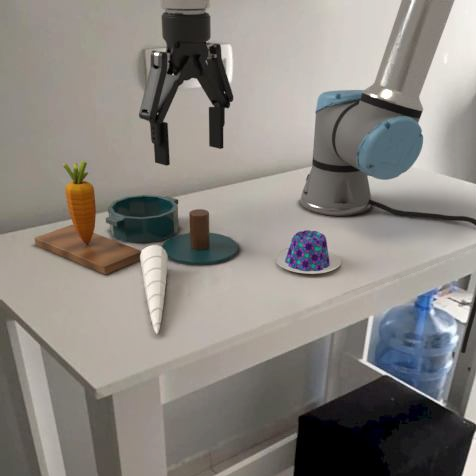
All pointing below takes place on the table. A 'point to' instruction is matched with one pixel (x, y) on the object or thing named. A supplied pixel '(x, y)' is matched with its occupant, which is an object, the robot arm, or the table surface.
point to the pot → (143, 218)
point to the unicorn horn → (154, 280)
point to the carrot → (81, 202)
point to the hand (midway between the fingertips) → (190, 155)
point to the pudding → (308, 254)
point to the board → (89, 250)
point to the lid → (200, 243)
